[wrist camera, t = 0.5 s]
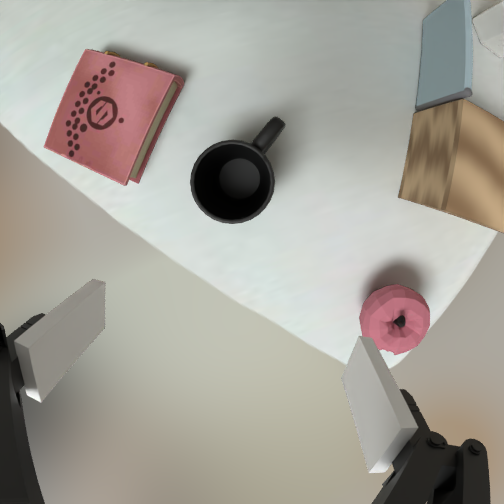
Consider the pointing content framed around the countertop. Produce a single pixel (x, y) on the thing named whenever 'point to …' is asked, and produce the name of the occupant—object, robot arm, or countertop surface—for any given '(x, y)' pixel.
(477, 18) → the jar
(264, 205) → the mug
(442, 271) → the countertop surface
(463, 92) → the door
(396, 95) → the countertop surface
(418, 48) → the countertop surface
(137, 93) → the book
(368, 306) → the apple
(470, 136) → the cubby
